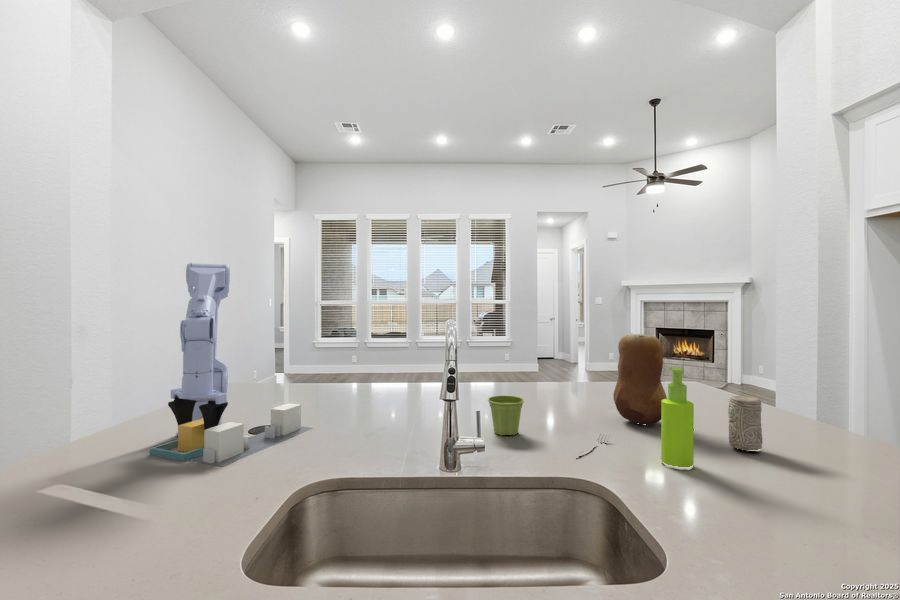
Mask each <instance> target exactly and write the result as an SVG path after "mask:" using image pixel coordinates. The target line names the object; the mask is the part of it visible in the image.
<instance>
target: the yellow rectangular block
mask: <svg viewBox="0 0 900 600" xmlns="http://www.w3.org/2000/svg"><path fill="white" fill-rule="evenodd" d="M177 430H178V431H177V433H178V435H177V440H178V447H177V452H183V453H187V452H190V451H192V450H195V449H198V448H201V447H204V433H205V432H204V421H203V418H202V419H199V420H195V421H192V422H188V423H185V424H181V425H178V424H177Z"/></svg>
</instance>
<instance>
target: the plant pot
mask: <svg viewBox="0 0 900 600" xmlns="http://www.w3.org/2000/svg"><path fill="white" fill-rule="evenodd" d="M487 402H488V403H489V407H490V411H491V417H492V419H491V420H492V426H493V433H494V432H495V434H496V435H498V434H500V435H499V436H502V435H510V436H511V435H512V436H516V435H518V434H519V429H520V421H521V420H520V419H521V413H522V408H523V404H524V402H525V399H524V398H523V397H520V396H515V395H503V394H502V395H495V396H489V397H488V398H487ZM517 433H518V434H517ZM515 434H516V435H515Z"/></svg>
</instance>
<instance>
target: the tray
mask: <svg viewBox="0 0 900 600" xmlns="http://www.w3.org/2000/svg"><path fill="white" fill-rule="evenodd" d="M174 448H178V439H175V440H172V441H168V442H166V443H162V444H159V445H157V446H153V447H150V448H149V456H153V457H161V458H164V459H165V458H166V459H171V460H176V461H180V462H181V461H182V462H186V461H188V460H191V459H194V458H196V457H199V456H202V455H203V449H204V447H201V448H198V449H195V450H192V451H190V452H183V451H177V450H176V451H175V450H171V449H174Z"/></svg>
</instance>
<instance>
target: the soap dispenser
mask: <svg viewBox="0 0 900 600" xmlns="http://www.w3.org/2000/svg"><path fill="white" fill-rule="evenodd" d="M669 371H671V372H672V382H670V383H668V384H667V399H663V400H661V420H660V421H661V422H660V423H661V425H660V426H661V427H660V428H661V429H660V430H661V431H660V435H661V436H660V438H661V439H660V440H661V442H660V443H661V444H660V446H661V448H660V451H661V452H660V455H661V456H660V458H661V459H660V461H661V460H662V462H664V463H666V464H668V465H672V466H678V467H690V466H692V465H693V464H695V463H694V456H695V455H694V454H695V453H694V448H695V447H694V444H695V443H694V429H695V427H694V425H695V424H694V421H695V420H694V418H695V417H694V416H695V415H694V414H695V413H694V411H695V410H694V409H695V408H694V405H695V404H694V402H692V401H690V400H687V396H688V395H687V390H688V389H687V385H686V384H684V383H683V374H684V372H685V371H684V369H683V368H682V367H679V366H669ZM693 466H694V465H693Z"/></svg>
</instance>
